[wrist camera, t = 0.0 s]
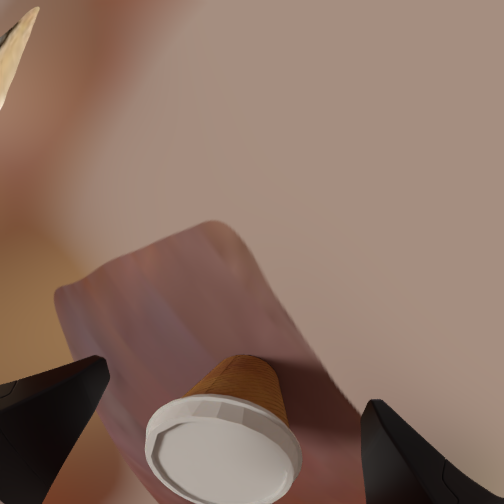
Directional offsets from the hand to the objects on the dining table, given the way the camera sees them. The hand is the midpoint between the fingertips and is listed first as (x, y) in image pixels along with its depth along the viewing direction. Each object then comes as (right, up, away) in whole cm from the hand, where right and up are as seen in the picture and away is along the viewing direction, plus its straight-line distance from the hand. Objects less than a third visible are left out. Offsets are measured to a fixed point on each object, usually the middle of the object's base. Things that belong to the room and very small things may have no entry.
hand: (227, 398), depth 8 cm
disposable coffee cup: (0, -8, +16) cm, 18 cm away
